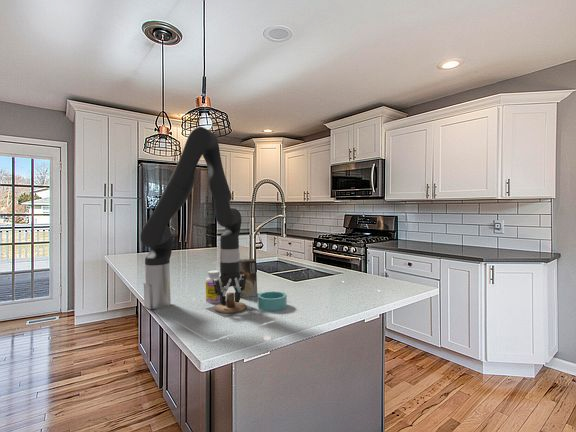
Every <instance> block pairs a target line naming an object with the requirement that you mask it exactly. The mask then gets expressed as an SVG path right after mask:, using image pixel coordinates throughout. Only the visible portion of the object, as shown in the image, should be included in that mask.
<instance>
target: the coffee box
mask: <svg viewBox="0 0 576 432" xmlns="http://www.w3.org/2000/svg"><path fill="white" fill-rule="evenodd" d="M239 274H240V275H241V274H243V275H246V283H245V289H244V290H242V291H241V292H240V298H245V297H256V296H257V297H258V282H257V281H258V277H257V276H258V275H257V259H255V258H243V259H242V258H241V259H240V271H239ZM239 282H240V279H239V280H238V283H239ZM235 292H236V291H235V290H234V293H235Z"/></svg>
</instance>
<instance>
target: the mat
mask: <svg viewBox="0 0 576 432" xmlns="http://www.w3.org/2000/svg"><path fill="white" fill-rule="evenodd" d="M234 302H235V300H234ZM215 306H216V305H214V306H211V307H206V308H204V309H205V310H207V311H210V312H212V313H214V314H216V315H217V316H221V317H223V318H228V317H232V316H235V315H238V314H241V313H245V312H249V311H253V310H256V307H253V306H250V305H247V304H246V309H245V310H244V311H241V312H238V313H232V314H223V313H218V312H216V311H215Z"/></svg>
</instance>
